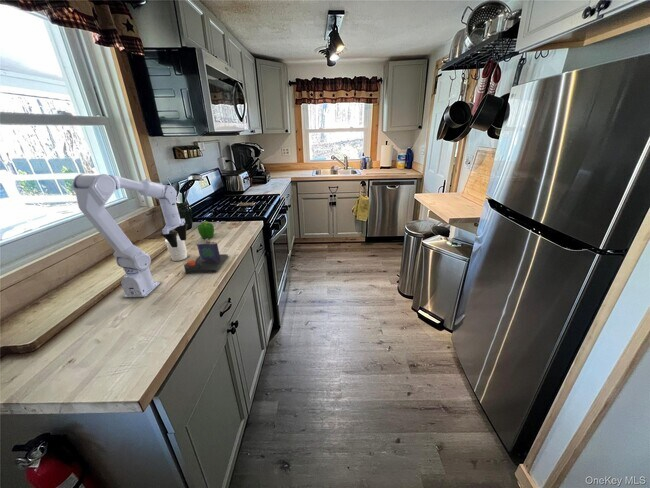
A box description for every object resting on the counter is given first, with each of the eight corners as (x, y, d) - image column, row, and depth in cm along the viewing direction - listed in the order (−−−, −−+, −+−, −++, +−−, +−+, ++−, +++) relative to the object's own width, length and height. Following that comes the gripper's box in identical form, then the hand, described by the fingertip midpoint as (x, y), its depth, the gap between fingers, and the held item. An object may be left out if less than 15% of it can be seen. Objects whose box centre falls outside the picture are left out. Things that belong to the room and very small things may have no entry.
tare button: (193, 266, 110) (192, 262, 109) (186, 266, 110) (185, 263, 109) (196, 263, 113) (195, 259, 112) (190, 263, 113) (189, 259, 112)
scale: (215, 272, 110) (214, 266, 108) (183, 273, 110) (181, 267, 109) (228, 256, 124) (226, 251, 123) (199, 257, 124) (197, 252, 123)
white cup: (181, 262, 120) (175, 242, 116) (166, 261, 122) (160, 241, 118) (192, 254, 127) (187, 236, 123) (178, 253, 129) (173, 235, 125)
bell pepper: (198, 237, 149) (194, 220, 145) (213, 233, 154) (209, 217, 150) (202, 241, 143) (198, 224, 139) (217, 237, 147) (213, 221, 143)
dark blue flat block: (199, 262, 116) (194, 240, 112) (203, 259, 119) (198, 237, 115) (219, 262, 116) (214, 240, 111) (222, 259, 118) (218, 237, 114)
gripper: (171, 218, 102) (180, 250, 107) (188, 208, 115) (195, 237, 120) (153, 219, 102) (163, 250, 107) (172, 209, 115) (180, 237, 120)
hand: (179, 243), depth 114 cm, fingers open, 7 cm apart
